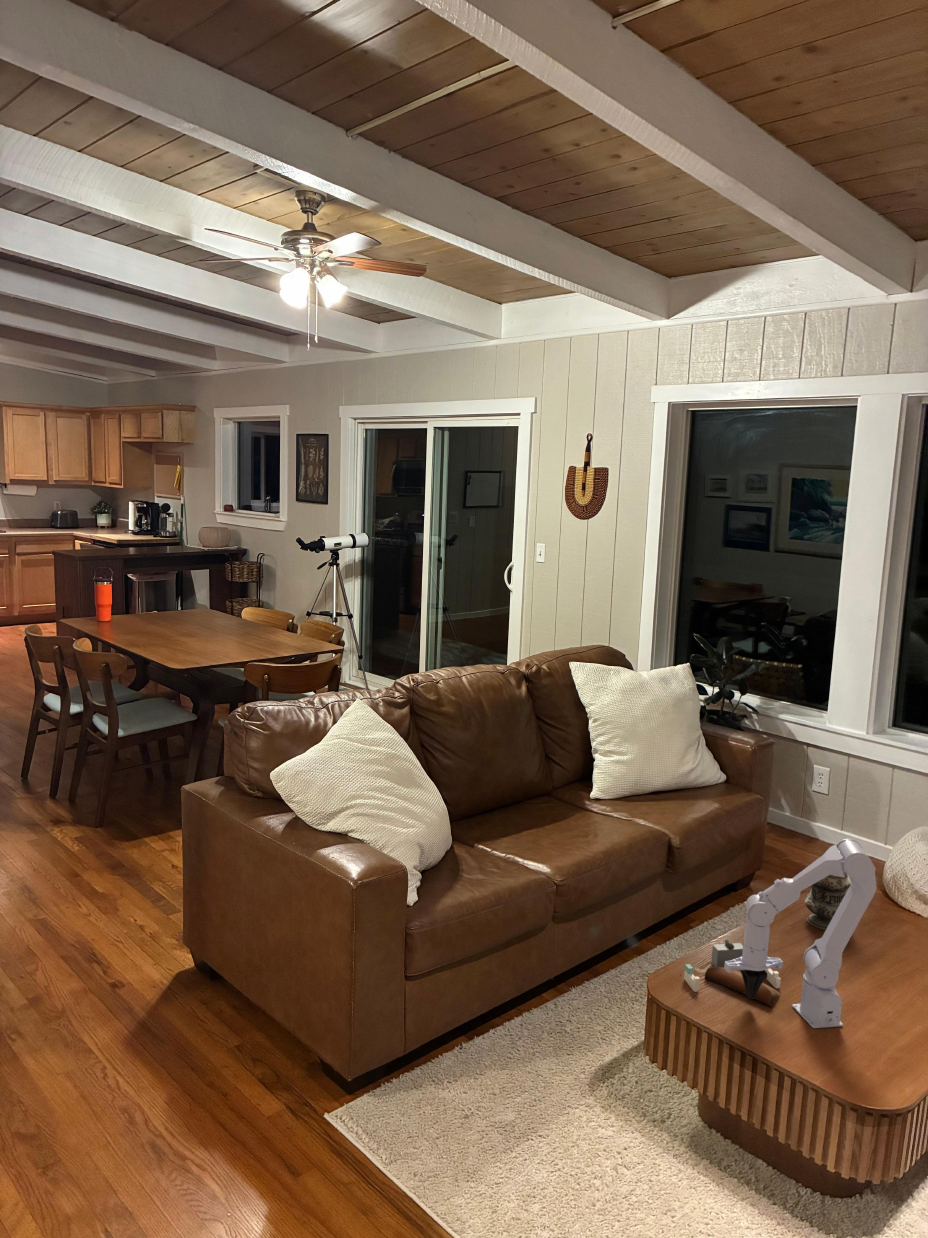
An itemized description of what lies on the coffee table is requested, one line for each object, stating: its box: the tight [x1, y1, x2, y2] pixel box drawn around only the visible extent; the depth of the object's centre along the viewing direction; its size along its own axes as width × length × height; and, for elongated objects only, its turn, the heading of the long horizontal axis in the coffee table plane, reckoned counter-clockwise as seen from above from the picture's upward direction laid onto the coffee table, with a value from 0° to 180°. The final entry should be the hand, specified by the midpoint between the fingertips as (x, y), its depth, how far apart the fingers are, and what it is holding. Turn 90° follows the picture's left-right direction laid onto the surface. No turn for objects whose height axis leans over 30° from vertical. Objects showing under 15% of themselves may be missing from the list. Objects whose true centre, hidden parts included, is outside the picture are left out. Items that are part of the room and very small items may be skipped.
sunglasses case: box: [704, 966, 783, 1008], centre depth 231 cm, size 18×7×7 cm
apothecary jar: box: [804, 872, 851, 931], centre depth 267 cm, size 12×12×18 cm
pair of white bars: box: [683, 963, 782, 993], centre depth 235 cm, size 11×23×4 cm, turn 101°
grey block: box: [710, 939, 743, 968], centre depth 242 cm, size 3×8×6 cm, turn 101°
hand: (750, 996), depth 223 cm, fingers closed
